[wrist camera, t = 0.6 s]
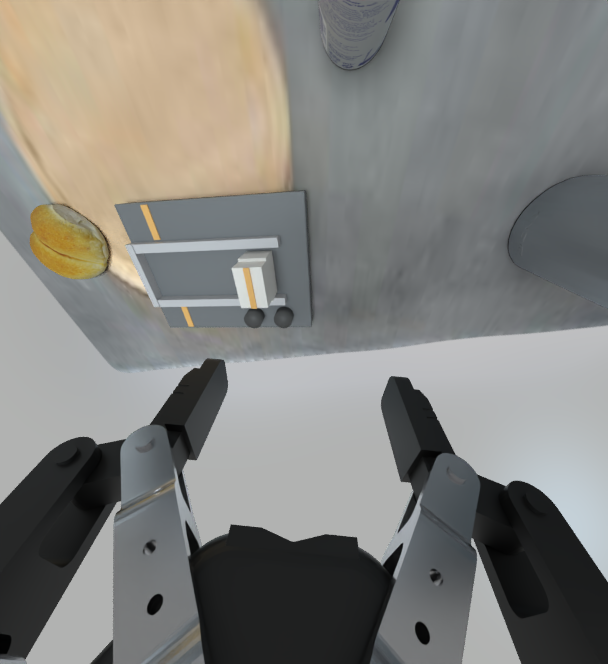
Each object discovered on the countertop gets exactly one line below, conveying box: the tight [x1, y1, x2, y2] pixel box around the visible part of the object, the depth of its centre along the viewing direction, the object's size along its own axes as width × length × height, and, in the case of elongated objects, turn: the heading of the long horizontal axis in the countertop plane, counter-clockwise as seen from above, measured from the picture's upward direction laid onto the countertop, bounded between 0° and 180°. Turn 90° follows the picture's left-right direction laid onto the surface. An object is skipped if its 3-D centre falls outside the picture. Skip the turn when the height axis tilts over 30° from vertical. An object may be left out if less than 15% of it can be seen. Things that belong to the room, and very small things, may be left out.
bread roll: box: [30, 204, 109, 279], centre depth 29 cm, size 8×9×4 cm
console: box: [115, 190, 312, 328], centre depth 29 cm, size 21×16×4 cm
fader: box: [232, 250, 277, 309], centre depth 25 cm, size 3×5×5 cm, turn 3°
